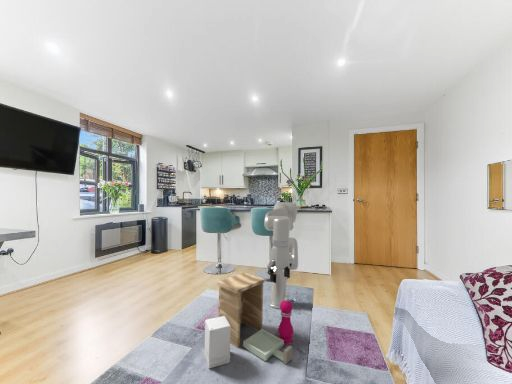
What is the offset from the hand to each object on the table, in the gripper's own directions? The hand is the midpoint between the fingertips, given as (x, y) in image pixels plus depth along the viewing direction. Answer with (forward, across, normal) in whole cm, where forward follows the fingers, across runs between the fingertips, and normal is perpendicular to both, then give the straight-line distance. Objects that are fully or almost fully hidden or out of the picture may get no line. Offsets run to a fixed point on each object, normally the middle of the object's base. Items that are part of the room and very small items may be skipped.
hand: (280, 279), depth 108 cm
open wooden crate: (+28, +11, -17) cm, 35 cm away
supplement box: (+29, +29, -9) cm, 42 cm away
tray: (+28, +9, +2) cm, 30 cm away
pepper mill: (+29, -2, +2) cm, 29 cm away
